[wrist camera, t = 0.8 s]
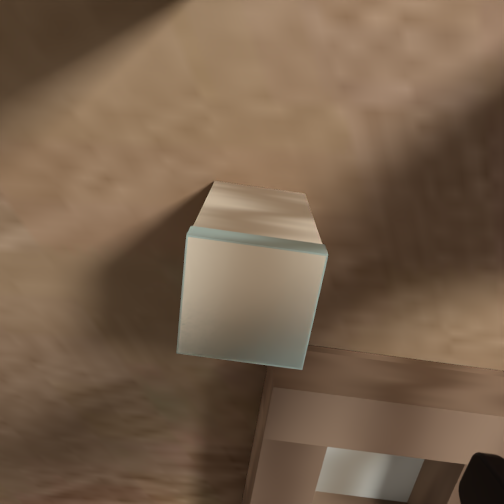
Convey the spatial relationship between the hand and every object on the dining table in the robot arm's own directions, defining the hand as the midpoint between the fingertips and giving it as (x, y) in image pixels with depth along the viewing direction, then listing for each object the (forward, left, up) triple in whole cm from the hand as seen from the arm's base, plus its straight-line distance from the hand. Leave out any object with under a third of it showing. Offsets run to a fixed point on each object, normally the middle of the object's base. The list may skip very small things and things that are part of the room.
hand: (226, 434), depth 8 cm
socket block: (-8, +13, -12) cm, 19 cm away
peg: (0, +1, -13) cm, 13 cm away
